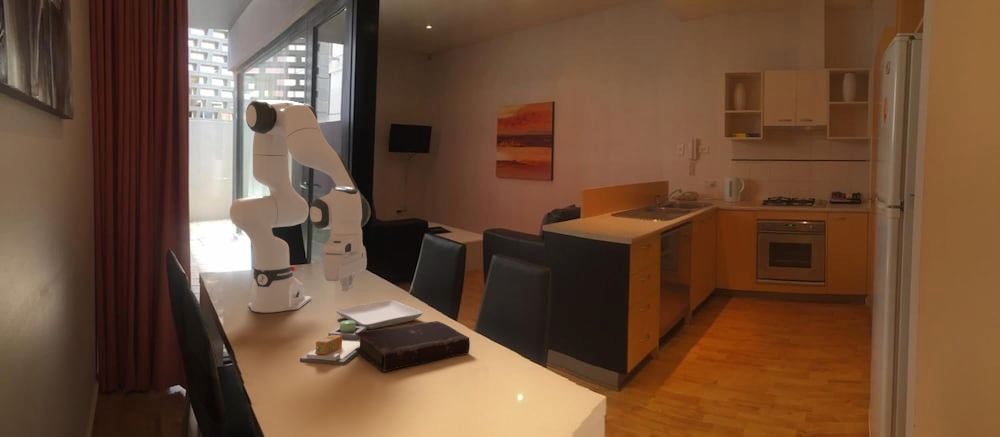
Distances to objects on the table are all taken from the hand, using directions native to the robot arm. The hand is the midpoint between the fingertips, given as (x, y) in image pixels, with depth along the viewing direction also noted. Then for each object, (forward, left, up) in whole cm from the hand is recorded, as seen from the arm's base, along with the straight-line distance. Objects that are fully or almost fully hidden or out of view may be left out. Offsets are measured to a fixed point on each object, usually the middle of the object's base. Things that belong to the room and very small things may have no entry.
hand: (347, 290), depth 158 cm
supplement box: (+11, +2, -11) cm, 16 cm away
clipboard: (+13, +3, -14) cm, 19 cm away
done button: (0, 0, -13) cm, 13 cm away
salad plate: (-19, +2, -14) cm, 24 cm away
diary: (+9, +23, -14) cm, 28 cm away
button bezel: (0, 0, -14) cm, 14 cm away
